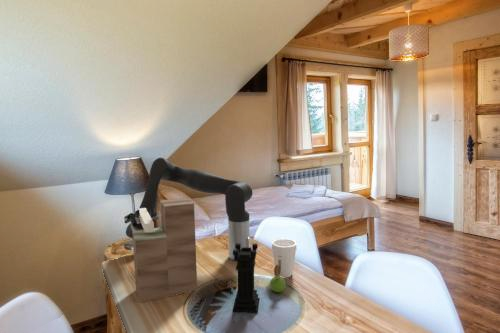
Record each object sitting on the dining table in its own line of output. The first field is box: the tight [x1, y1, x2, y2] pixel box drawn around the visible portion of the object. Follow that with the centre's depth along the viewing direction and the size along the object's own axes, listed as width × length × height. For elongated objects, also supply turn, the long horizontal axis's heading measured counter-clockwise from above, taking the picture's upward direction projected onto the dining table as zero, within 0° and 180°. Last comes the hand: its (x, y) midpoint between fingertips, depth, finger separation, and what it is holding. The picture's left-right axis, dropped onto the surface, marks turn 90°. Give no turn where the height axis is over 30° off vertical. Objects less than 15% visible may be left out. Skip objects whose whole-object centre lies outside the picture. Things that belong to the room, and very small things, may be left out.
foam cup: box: [271, 238, 297, 277], centre depth 136 cm, size 10×9×13 cm
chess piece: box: [232, 243, 261, 314], centre depth 113 cm, size 8×8×20 cm
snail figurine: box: [269, 255, 286, 293], centre depth 123 cm, size 5×6×12 cm
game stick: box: [137, 207, 155, 233], centre depth 128 cm, size 22×3×3 cm, turn 23°
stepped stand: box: [132, 197, 198, 304], centre depth 123 cm, size 10×20×32 cm, turn 113°
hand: (143, 211), depth 132 cm, fingers closed on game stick, 3 cm apart
